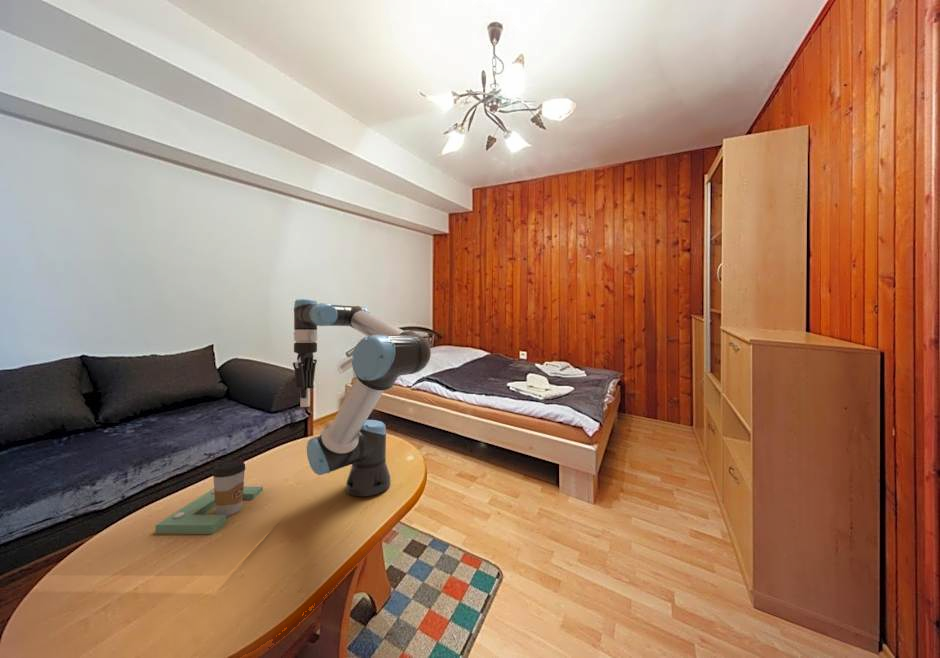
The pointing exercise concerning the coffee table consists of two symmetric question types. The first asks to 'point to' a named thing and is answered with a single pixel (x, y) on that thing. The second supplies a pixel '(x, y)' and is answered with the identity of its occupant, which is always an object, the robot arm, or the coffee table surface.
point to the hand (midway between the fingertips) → (305, 406)
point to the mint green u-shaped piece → (199, 515)
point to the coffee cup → (229, 486)
